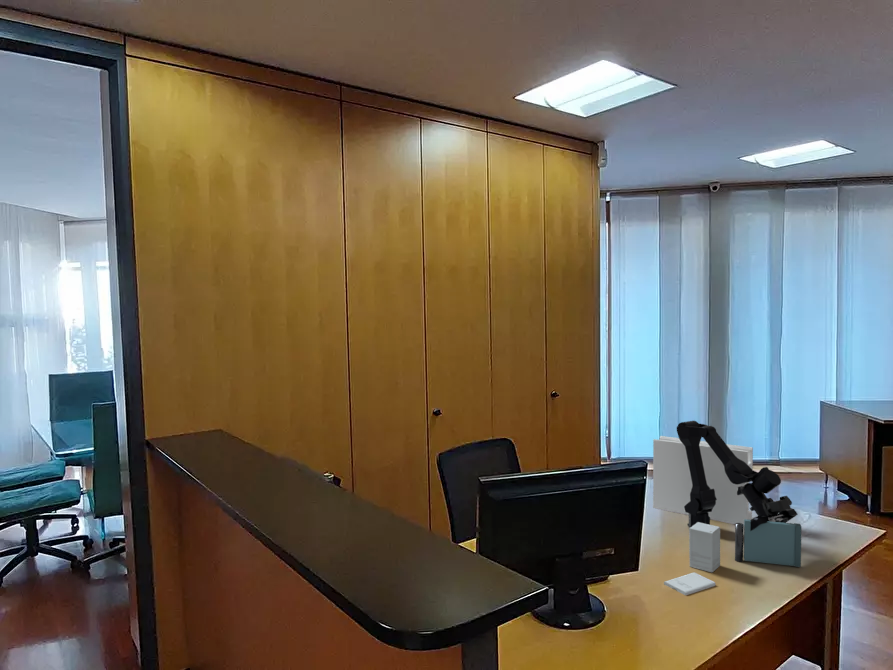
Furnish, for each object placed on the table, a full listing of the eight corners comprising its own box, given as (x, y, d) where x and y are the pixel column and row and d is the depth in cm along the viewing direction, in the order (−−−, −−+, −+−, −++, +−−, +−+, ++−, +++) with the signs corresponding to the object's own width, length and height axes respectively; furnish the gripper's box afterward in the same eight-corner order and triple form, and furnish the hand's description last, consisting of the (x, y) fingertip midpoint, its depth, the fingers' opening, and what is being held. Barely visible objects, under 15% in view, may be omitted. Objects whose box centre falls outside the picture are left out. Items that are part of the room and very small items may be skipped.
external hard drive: (715, 587, 188) (685, 597, 182) (693, 576, 195) (663, 585, 190) (715, 582, 188) (685, 591, 182) (693, 571, 195) (663, 580, 190)
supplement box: (720, 565, 202) (721, 526, 201) (712, 573, 196) (712, 533, 195) (697, 559, 207) (697, 521, 206) (688, 566, 201) (688, 527, 200)
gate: (744, 561, 203) (744, 521, 203) (743, 558, 206) (744, 518, 205) (800, 567, 198) (801, 526, 197) (799, 563, 201) (799, 523, 200)
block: (653, 508, 256) (653, 439, 254) (660, 502, 263) (660, 435, 261) (746, 526, 234) (747, 451, 233) (751, 520, 241) (752, 447, 239)
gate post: (736, 561, 204) (736, 525, 203) (733, 558, 206) (734, 522, 206) (744, 562, 204) (744, 525, 203) (741, 559, 206) (742, 522, 205)
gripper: (754, 492, 201) (786, 538, 192) (792, 483, 209) (824, 527, 200) (733, 509, 208) (762, 554, 199) (770, 500, 217) (800, 543, 208)
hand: (788, 544), depth 201 cm, fingers closed
